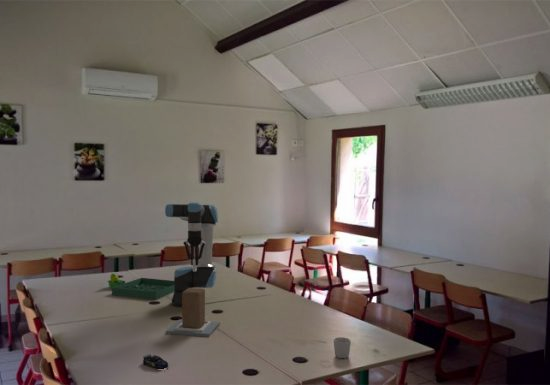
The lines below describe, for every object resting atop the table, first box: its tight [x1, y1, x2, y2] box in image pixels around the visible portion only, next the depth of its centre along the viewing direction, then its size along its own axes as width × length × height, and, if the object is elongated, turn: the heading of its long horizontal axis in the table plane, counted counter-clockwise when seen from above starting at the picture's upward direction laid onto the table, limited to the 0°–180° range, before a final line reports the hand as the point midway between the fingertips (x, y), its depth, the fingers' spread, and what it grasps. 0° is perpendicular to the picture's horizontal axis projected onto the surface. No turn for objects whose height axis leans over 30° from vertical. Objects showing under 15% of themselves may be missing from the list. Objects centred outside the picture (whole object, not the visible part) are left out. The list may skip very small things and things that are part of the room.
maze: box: [111, 277, 174, 301], centre depth 351 cm, size 35×35×6 cm
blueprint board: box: [165, 319, 221, 337], centre depth 271 cm, size 24×20×2 cm
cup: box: [333, 336, 352, 359], centre depth 234 cm, size 11×8×8 cm
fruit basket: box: [107, 273, 126, 289], centre depth 359 cm, size 11×9×11 cm
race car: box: [142, 353, 169, 370], centre depth 221 cm, size 15×7×4 cm, turn 61°
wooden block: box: [181, 288, 206, 329], centre depth 270 cm, size 10×10×20 cm
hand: (194, 270), depth 282 cm, fingers closed
